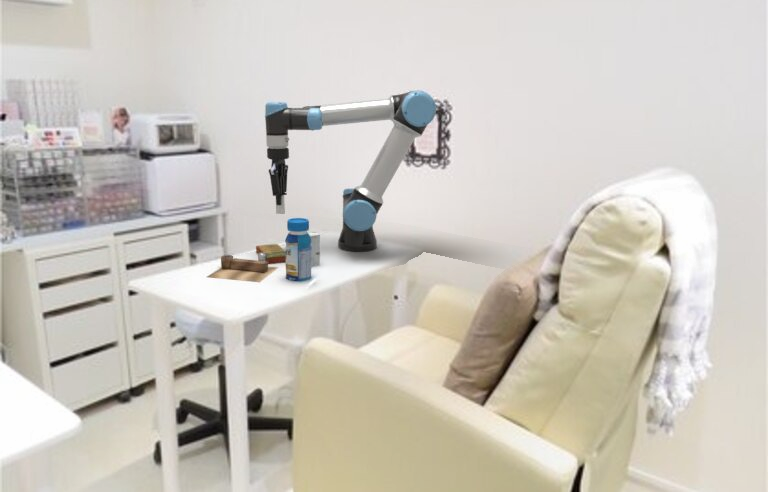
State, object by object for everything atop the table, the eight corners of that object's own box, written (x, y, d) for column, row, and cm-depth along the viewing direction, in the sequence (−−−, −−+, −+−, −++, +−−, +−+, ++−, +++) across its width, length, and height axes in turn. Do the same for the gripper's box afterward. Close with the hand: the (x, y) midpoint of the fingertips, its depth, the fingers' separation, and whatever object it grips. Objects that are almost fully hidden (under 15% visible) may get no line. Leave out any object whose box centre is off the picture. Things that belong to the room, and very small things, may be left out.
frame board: (278, 270, 198) (278, 267, 198) (259, 285, 183) (259, 282, 183) (228, 266, 202) (228, 263, 201) (206, 280, 186) (205, 277, 186)
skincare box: (304, 271, 199) (304, 236, 196) (298, 267, 202) (298, 233, 199) (320, 268, 202) (320, 234, 199) (314, 265, 206) (314, 231, 202)
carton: (278, 254, 219) (277, 243, 218) (291, 266, 205) (290, 254, 204) (255, 256, 215) (255, 245, 214) (267, 268, 201) (267, 256, 200)
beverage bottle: (311, 285, 185) (311, 223, 180) (284, 285, 184) (283, 222, 179) (312, 276, 193) (312, 217, 188) (286, 276, 192) (285, 216, 187)
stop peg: (266, 267, 198) (266, 252, 197) (264, 269, 196) (263, 254, 194) (260, 266, 198) (259, 252, 197) (257, 268, 196) (256, 254, 195)
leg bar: (219, 267, 195) (218, 256, 194) (225, 264, 198) (224, 252, 197) (263, 272, 191) (263, 260, 190) (268, 269, 195) (268, 257, 194)
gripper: (281, 149, 199) (283, 217, 205) (294, 145, 211) (296, 210, 217) (260, 148, 200) (263, 216, 206) (274, 145, 212) (277, 209, 219)
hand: (280, 213), depth 212 cm, fingers closed
